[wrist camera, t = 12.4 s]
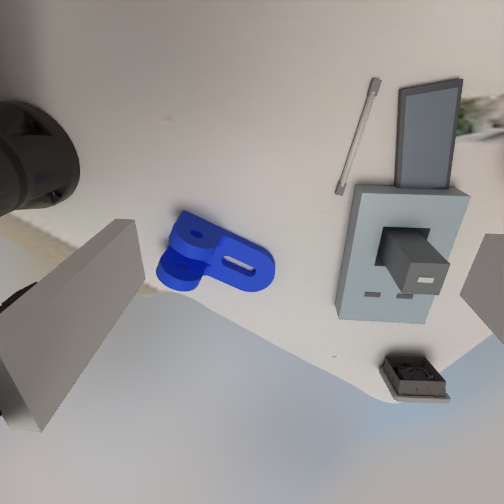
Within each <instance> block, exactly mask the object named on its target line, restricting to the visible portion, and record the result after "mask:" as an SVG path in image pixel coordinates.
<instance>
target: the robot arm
mask: <svg viewBox="0 0 504 504" xmlns="http://www.w3.org/2000/svg"><path fill="white" fill-rule="evenodd" d="M79 173H80V169H79V161H78V157H77V154H76V151H75V148H74V146H73V144H72V142H71V140H70V139H69V137H68V136H67V134H66V133H65V131H64V130H63V129H62V128H61V127H60V126H59V124H58V123H57V122H56V121H55V120H53V119H52V118H51V117H50V116H49V115H47V114H46V113H44V112H43V111H41V110H40V109H38V108H36V107H34V106H31V105H29V104H26V103H22V102H16V101H4V102H0V217H1V216H3V215H5V214H7V213H9V212H11V211H13V210H23V209H40V208H47V207H51V206H54V205H56V204H58V203H60V202H62V201H64V200H65V199H67V198H68V197H69V196H70V195H71V194H72V193H73V192H74V190H75V189H76V187H77V184H78V181H79ZM144 280H145V273H144V268H143V263H142V257H141V252H140V246H139V241H138V236H137V230H136V225H135V220H130V219H115V220H113V221H112V222H111V223H110V224H109V225H107V226H106V227H105V228H104V229H102V230H101V231H100V232H99V233H98V234H96V235H95V236H94V237H93V238H92V239H90V240H89V241H88V242H87V243H85V244H84V245H83V246H82V247H81V248H79V249H78V250H77V251H76V252H75V253H73V254H72V255H71V256H70V257H68V258H67V259H66V260H65V261H64V262H62V263H61V264H60V265H59V266H57V267H56V268H55V269H54V270H53V271H51V272H50V273H49V274H48V275H47V276H45V277H44V278H43V279H42V280H40V281H39V282H35V283H33V284H31V285H29V286H27V287H25V288H23V289H21V290H19V291H17V292H16V293H14V294H13V295H12V296H11V297H9V298H8V299H7V300H6V301H4V302H3V303H2V306H0V416H1V415H2V416H3V418H4V419H5V421H6V423H7V424H8V426H9V428H10V429H11V430H17V431H29V432H42V431H43V429H44V428H45V426H46V425H47V424H48V422H49V421H50V419H51V418H52V416H53V415H54V413H55V412H56V410H57V409H58V407H59V406H60V404H61V403H62V401H63V400H64V398H65V397H66V395H67V394H68V393H69V391H70V389H71V388H72V386H73V385H74V384H75V382H76V381H77V379H78V377H79V376H80V375H81V373H82V372H83V370H84V369H85V367H86V366H87V365H88V363H89V362H90V360H91V358H92V357H93V355H94V354H95V353H96V351H97V350H98V348H99V347H100V345H101V344H102V342H103V341H104V339H105V338H106V336H107V335H108V333H109V332H110V331H111V329H112V328H113V326H114V325H115V323H116V322H117V320H118V319H119V317H120V316H121V314H122V313H123V311H124V310H125V308H126V307H127V306H128V304H129V303H130V301H131V300H132V298H133V297H134V295H135V294H136V292H137V291H138V289H139V288H140V286H141V285H142V283H143V282H144ZM460 296H461V297H462V298H463V299H464V300H465V302H466V303H467V304H468V305H469V306H470V307H471V308H472V309H473V311H474V312H475V313H476V314H477V315H478V316H479V317H480V318H481V320H482V321H483V322H484V323H485V324H486V325H487V326H488V327H489V329H490V330H491V331H492V332H493V333H494V334H495V335H496V336H497V338H498V339H499V340H500V341H501V342H502V343H503V344H504V234H485V236H484V238H483V241H482V243H481V245H480V248H479V250H478V252H477V255H476V257H475V259H474V262H473V264H472V267H471V269H470V271H469V274H468V276H467V278H466V281H465V283H464V285H463V288H462V290H461V293H460Z"/></svg>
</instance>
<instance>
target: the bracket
mask: <svg viewBox="0 0 504 504" xmlns="http://www.w3.org/2000/svg"><path fill="white" fill-rule="evenodd" d="M169 243H170V244H169V246H168V248H167V249H166V251H165V252H164V254H163V255H162V257H161V258H160V261H159V264H158V266H157V269H156V275H157V277H158V279H159V280H160V281H161V282H162V283H163V284H164V285H166V286H167V287H169V288H171V289H174V290H177V291H191V290H193V289H195V288H196V287H197V286H198V284H199V282H200V280H201V278H202V276H204V275H208V276H211V277H213V278H215V279H217V280H220V281H222V282H224V283H226V284H229V285H231V286H233V287H235V288H238V289H240V290H242V291H247V292H256V291H260V290H263V289H265V288H266V287H268V286H269V285H270V284H271V282H272V281H273V279H274V275H275V262H274V259H273V257H272V255H271V254H270V253H269V252H268V251H267V250H266V249H264V248H263V247H261V246H259V245H257V244H254V243H252V242H250V241H248V240H246V239H244V238H242V237H240V236H238V235H236V234H233V233H231V232H229V231H227V230H225V229H223V228H221V227H219V226H217V225H215V224H212V223H210V222H208V221H206V220H204V219H202V218H200V217H198V216H196V215H193V214H191V213H189V212H187V211H184V212H183V213H182V214H181V216H180V217H179V218H178V220H177V221H176V222H175V224H174V226H173V228H172V231H171V233H170V236H169ZM224 256H230V257H232V258H234V259H236V260H239V261H241V262H243V263H245V264H247V265H249V266H252V267H254V268H255V270H253V271H249V270H247V269H245V268H242V267H240V266H238V265H236V264H234V263H231V262H229V261H227V260H225V259H224Z"/></svg>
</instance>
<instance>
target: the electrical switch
mask: <svg viewBox="0 0 504 504" xmlns="http://www.w3.org/2000/svg"><path fill="white" fill-rule="evenodd" d="M399 361H400V362H399ZM399 363H400V365H399ZM402 363H406V365H407V367H402ZM409 366H410V367H411V368H410V367H409ZM420 367H421V368H420ZM379 373H380V374H381V376H382V378H383V380H384V382H385V384H386V385H387V387H388V389H389V391H390V393H391V395H392V397H393V398H394V400H396V401H399V402H423V403H449V402H450V397H449V395H448V394H447V393H445V392H446V389H445V385H446V381H445V380H444V379H443V378H442V376H441V375H440V374H439V373H438V372H437V371H436V369H435V368H434V367H433V366H432V365H431V364H430V362H429V361H428V360H427V359H426V358H424V357H385V362H384V367H380V368H379ZM436 377H437V380H436Z"/></svg>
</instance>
